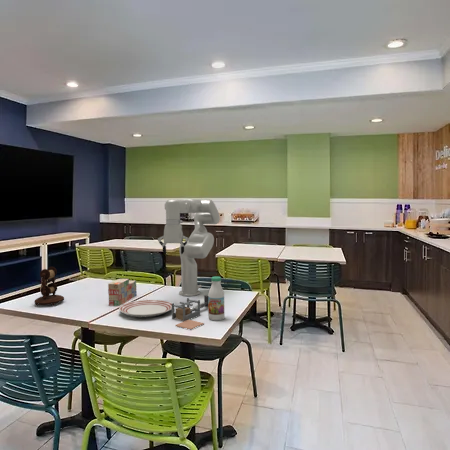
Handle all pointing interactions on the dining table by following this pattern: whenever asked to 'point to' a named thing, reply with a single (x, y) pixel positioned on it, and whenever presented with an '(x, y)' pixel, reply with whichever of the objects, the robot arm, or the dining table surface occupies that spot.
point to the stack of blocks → (121, 291)
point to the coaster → (189, 324)
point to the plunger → (201, 304)
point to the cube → (180, 312)
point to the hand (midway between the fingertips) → (173, 253)
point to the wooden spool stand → (48, 288)
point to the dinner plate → (146, 308)
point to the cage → (185, 317)
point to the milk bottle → (216, 300)
